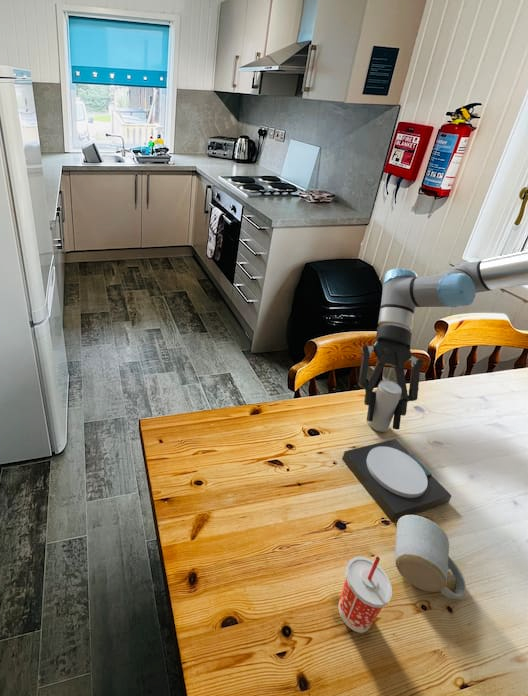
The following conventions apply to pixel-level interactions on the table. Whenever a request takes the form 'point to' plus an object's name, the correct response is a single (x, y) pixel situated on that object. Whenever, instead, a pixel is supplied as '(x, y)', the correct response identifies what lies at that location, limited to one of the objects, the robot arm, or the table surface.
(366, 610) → the beverage cup
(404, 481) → the kitchen scale
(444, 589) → the ceramic mug
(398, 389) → the beverage can
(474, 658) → the table surface
